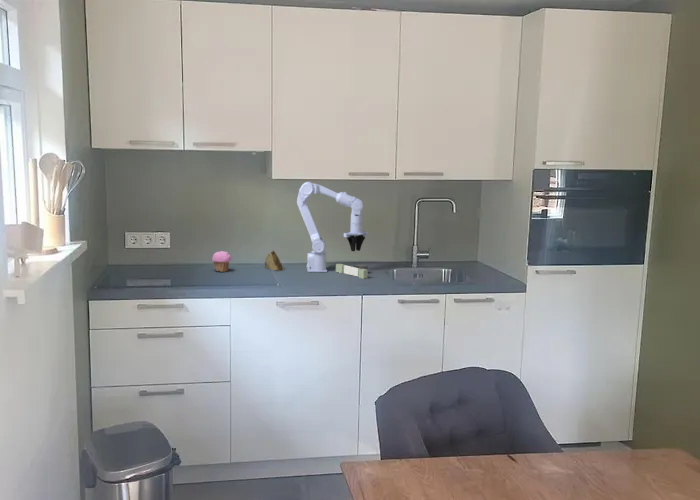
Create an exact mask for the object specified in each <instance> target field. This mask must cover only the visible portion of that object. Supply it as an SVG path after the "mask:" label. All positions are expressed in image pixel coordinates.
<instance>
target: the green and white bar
mask: <svg viewBox="0 0 700 500" xmlns="http://www.w3.org/2000/svg"><path fill="white" fill-rule="evenodd" d="M344 265H345V264H343V263H336V264H335V273H337V272H339V274H345V273H344ZM368 273H369V269H368V270H366V269H359V275H358V276H357V277H359V279H368Z"/></svg>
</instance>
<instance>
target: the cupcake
mask: <svg viewBox="0 0 700 500" xmlns="http://www.w3.org/2000/svg"><path fill="white" fill-rule="evenodd" d="M211 260H212V262H213V267H214V269H215V271H216V272H221V273H225V272H228V271H229V264H230V261H232V256H231V255H230V253H229V252H228V251H224V250H221V251H216V252H215V253H213V255H212V259H211Z"/></svg>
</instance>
